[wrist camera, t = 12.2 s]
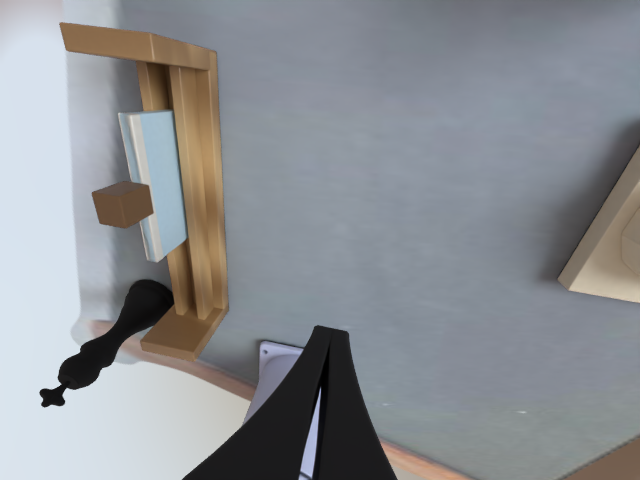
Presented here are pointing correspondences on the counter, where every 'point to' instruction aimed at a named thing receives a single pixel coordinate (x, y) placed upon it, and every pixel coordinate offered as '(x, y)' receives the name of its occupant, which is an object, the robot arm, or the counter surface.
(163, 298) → the chess piece
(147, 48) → the window frame
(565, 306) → the counter surface
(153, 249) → the pane
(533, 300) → the counter surface
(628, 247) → the switch block
